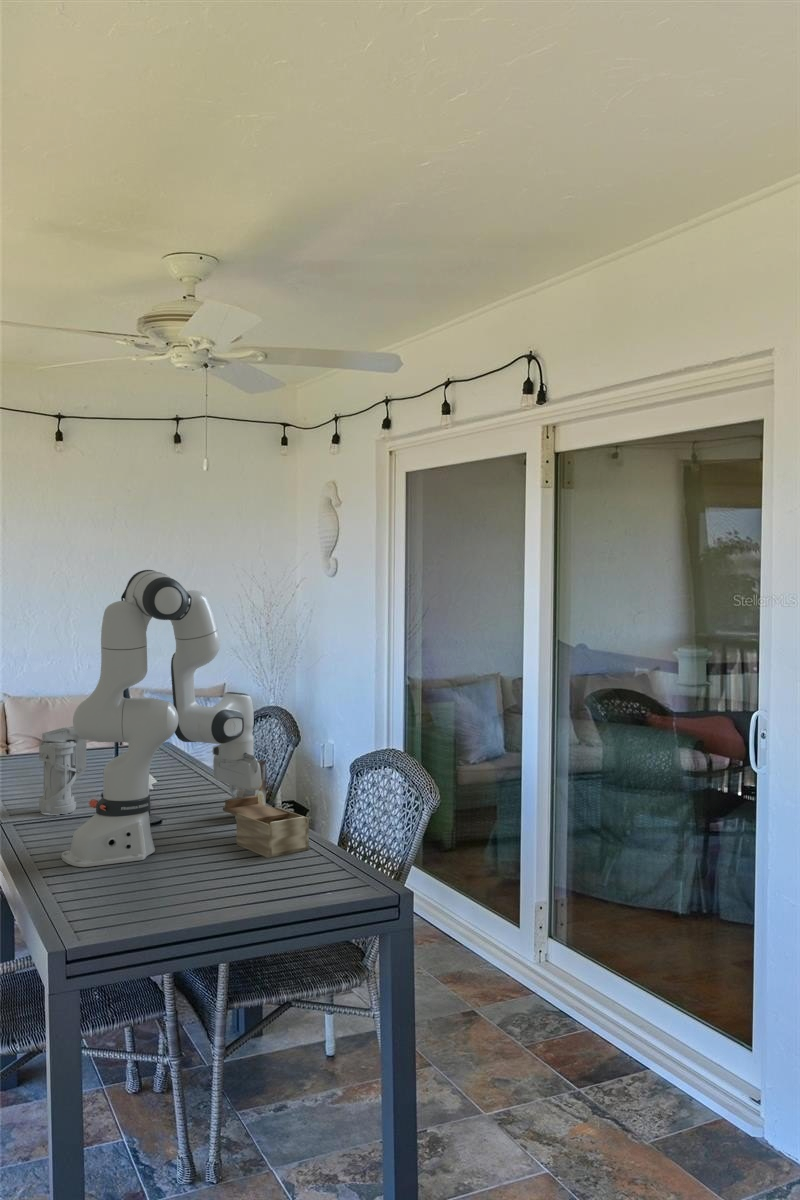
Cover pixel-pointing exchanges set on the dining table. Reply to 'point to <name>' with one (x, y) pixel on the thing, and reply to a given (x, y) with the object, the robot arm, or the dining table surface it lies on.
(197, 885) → the dining table surface
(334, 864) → the dining table surface
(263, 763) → the coffee box
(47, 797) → the lantern
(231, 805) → the lid
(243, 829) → the crate
